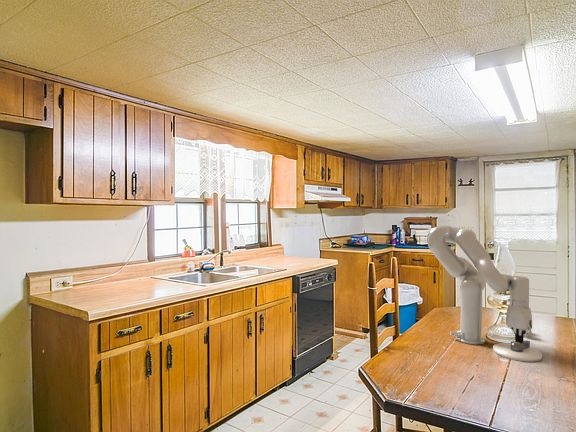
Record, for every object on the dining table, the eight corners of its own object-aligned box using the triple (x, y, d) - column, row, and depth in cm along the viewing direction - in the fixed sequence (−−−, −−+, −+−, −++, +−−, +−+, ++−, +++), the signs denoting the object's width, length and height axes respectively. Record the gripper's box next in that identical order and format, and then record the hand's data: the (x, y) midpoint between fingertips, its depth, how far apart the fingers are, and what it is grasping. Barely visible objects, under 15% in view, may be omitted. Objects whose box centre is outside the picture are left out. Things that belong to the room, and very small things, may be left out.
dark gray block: (518, 352, 175) (519, 344, 175) (508, 348, 179) (508, 341, 179) (533, 349, 180) (533, 341, 180) (522, 345, 184) (522, 338, 184)
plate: (505, 360, 169) (505, 357, 169) (485, 345, 188) (485, 342, 188) (551, 362, 168) (551, 359, 168) (527, 347, 187) (527, 343, 187)
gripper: (499, 300, 188) (498, 339, 188) (530, 307, 175) (530, 349, 175) (509, 299, 192) (509, 337, 192) (540, 305, 178) (540, 346, 178)
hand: (519, 343), depth 183 cm, fingers closed
